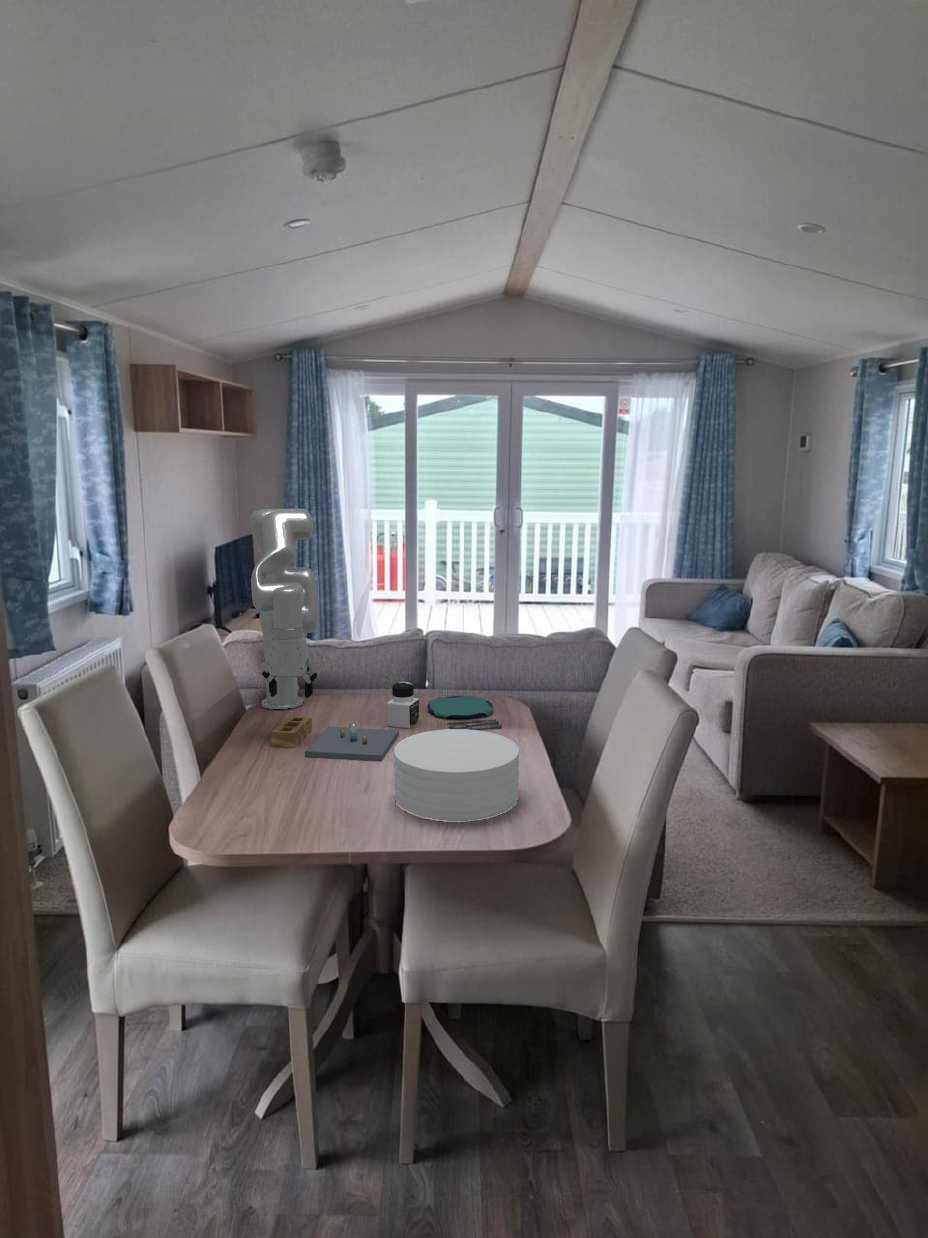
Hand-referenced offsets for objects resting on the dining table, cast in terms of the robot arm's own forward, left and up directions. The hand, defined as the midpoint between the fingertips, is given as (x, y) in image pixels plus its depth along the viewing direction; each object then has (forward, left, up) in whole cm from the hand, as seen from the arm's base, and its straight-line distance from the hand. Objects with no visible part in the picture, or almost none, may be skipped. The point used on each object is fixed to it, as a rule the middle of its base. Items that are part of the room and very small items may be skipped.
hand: (291, 696), depth 227 cm
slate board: (+2, +18, -12) cm, 22 cm away
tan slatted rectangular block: (-1, 0, -12) cm, 12 cm away
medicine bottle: (-18, +27, -12) cm, 34 cm away
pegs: (+2, +18, -11) cm, 21 cm away
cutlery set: (-29, +43, -13) cm, 53 cm away
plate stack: (+31, +50, -13) cm, 60 cm away
